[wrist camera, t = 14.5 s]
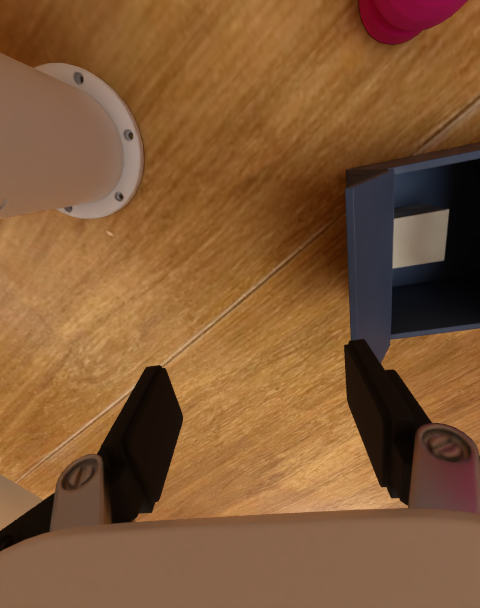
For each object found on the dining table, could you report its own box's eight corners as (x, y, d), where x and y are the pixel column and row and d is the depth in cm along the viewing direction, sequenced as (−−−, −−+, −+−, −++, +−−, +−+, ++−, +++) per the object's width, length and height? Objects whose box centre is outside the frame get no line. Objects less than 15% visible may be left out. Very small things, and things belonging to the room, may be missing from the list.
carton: (350, 295, 32) (388, 346, 23) (345, 169, 27) (392, 168, 18) (497, 273, 30) (604, 319, 21) (522, 133, 25) (681, 110, 16)
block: (373, 255, 30) (391, 269, 26) (373, 212, 28) (392, 218, 24) (418, 248, 29) (444, 260, 25) (421, 203, 27) (449, 208, 23)
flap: (390, 345, 23) (384, 343, 23) (394, 168, 18) (387, 169, 18) (359, 406, 18) (353, 404, 18) (353, 187, 13) (344, 188, 13)
